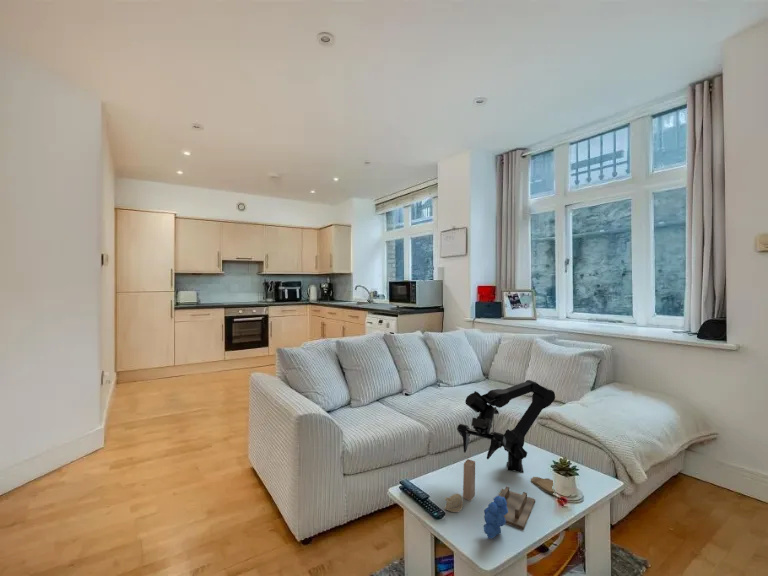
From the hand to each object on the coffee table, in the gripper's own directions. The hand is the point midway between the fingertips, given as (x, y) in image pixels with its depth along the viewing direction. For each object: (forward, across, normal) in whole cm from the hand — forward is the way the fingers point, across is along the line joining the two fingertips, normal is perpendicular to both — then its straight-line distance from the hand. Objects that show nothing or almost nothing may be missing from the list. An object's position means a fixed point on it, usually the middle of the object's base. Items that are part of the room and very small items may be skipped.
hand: (475, 455), depth 142 cm
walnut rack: (+13, +15, +6) cm, 21 cm away
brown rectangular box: (+14, 0, +4) cm, 15 cm away
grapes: (+24, +14, -6) cm, 28 cm away
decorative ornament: (+21, -2, -3) cm, 21 cm away
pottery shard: (-2, +24, +21) cm, 32 cm away
